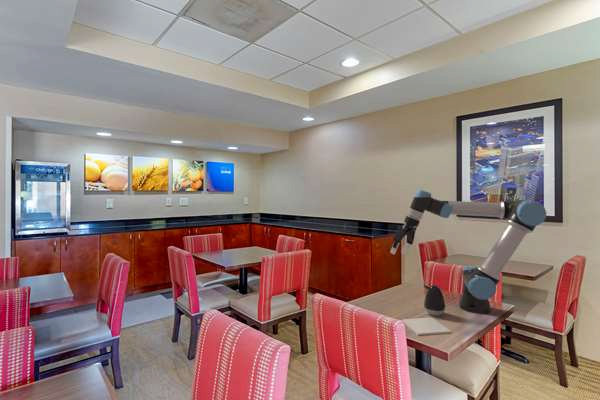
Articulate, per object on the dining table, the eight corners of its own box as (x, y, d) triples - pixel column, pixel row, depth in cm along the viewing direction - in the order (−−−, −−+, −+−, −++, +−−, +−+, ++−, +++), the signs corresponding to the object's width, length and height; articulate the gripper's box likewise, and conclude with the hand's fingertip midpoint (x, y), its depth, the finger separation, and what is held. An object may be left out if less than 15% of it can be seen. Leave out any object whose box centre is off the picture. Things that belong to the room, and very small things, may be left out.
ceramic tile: (431, 319, 160) (431, 317, 160) (450, 332, 144) (450, 331, 144) (401, 321, 158) (401, 319, 158) (417, 335, 142) (417, 333, 142)
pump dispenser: (427, 309, 174) (427, 281, 173) (447, 313, 167) (447, 284, 167) (420, 314, 166) (420, 285, 165) (441, 319, 159) (441, 289, 159)
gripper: (416, 217, 182) (401, 251, 185) (397, 212, 164) (381, 250, 167) (428, 222, 177) (413, 257, 180) (410, 218, 159) (393, 256, 162)
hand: (397, 253), depth 173 cm, fingers open, 13 cm apart
